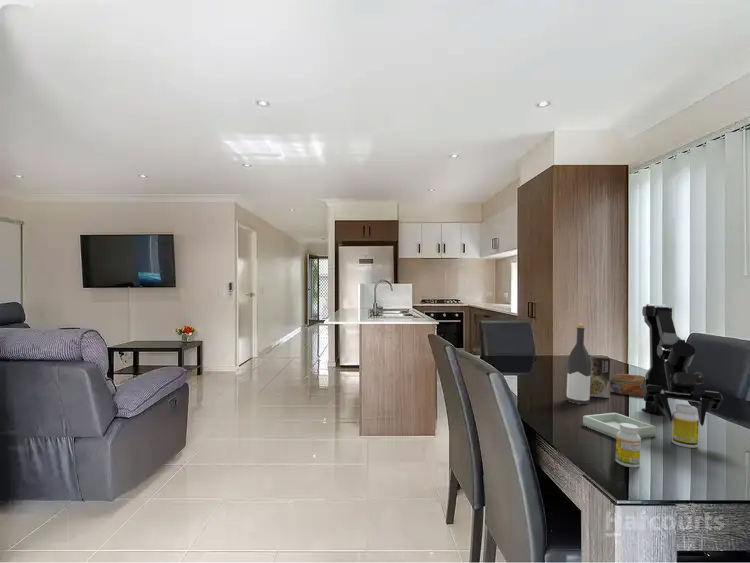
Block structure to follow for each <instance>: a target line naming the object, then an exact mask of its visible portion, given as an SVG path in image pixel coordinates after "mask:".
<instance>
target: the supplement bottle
mask: <svg viewBox="0 0 750 563" xmlns="http://www.w3.org/2000/svg"><path fill="white" fill-rule="evenodd" d="M620 430H621V431H619V432H618V433H617V435H616V438H615V462H616V463H618V464H619V465H621V466H624V467H628V468H638V467H640V465H641V446H642V444H641V443H642V438H640V436H639V435H638V434H637V433H638V426H636V425H633V424H629V423H620Z"/></svg>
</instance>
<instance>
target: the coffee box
mask: <svg viewBox="0 0 750 563" xmlns="http://www.w3.org/2000/svg"><path fill="white" fill-rule="evenodd" d="M589 357H590V361H591V376H590V397H593V396H594V398H595V397H596V398H606V399H610V391H611V390H610V387H611V385H610V380H611V358H610V357H609V356H608V355H595V354H589Z"/></svg>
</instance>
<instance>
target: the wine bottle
mask: <svg viewBox="0 0 750 563" xmlns="http://www.w3.org/2000/svg"><path fill="white" fill-rule="evenodd" d="M584 326H585V325H584V323H578V324H577V327H576V343H575V345H574V347H573V348H572V350H571V351H570V354H569V356H568V359H567V376H566V377H567V379H566V401H567V400H568V401H571V402H574V403H580V404H579V405H581V404H586V405H589V404H590V397H591V396H590V376H591V361H590V357H589V355H590V354H589V352H588V350H587V348H586V347H585V346H586V345H585V344H584V342H585V341H584V340H585V327H584ZM568 401H567V402H568ZM574 403H573V404H574ZM588 403H589V404H588Z"/></svg>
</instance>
